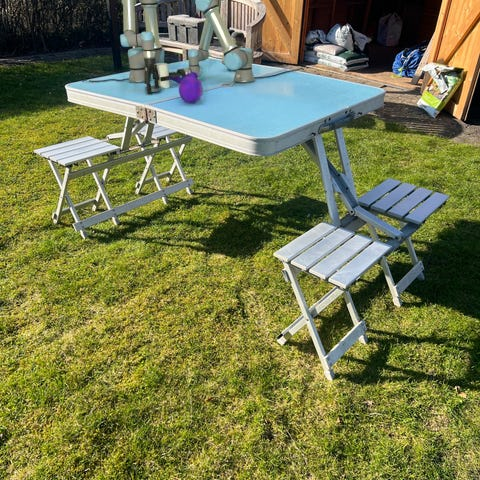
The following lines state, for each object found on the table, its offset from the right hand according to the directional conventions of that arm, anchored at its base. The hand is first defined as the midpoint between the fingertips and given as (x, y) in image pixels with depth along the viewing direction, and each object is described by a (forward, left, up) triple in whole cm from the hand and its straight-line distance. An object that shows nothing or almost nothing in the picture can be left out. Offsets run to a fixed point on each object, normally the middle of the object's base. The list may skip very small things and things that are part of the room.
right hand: (156, 78), depth 314 cm
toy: (-15, +46, -6) cm, 48 cm away
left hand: (+4, +14, -6) cm, 16 cm away
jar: (-4, -2, -6) cm, 8 cm away
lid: (+4, +14, -3) cm, 15 cm away
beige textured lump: (-67, -48, -6) cm, 83 cm away
